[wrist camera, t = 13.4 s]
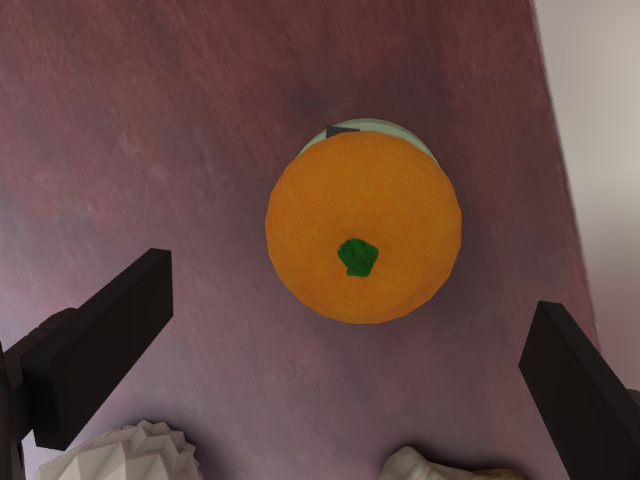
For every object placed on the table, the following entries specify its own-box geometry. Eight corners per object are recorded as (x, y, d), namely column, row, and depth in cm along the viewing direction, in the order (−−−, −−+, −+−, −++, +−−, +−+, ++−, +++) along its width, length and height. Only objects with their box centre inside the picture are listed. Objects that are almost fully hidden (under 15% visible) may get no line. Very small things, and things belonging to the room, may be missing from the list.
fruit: (334, 312, 34) (318, 403, 25) (246, 179, 31) (192, 228, 22) (481, 241, 31) (526, 316, 22) (398, 86, 28) (409, 97, 19)
